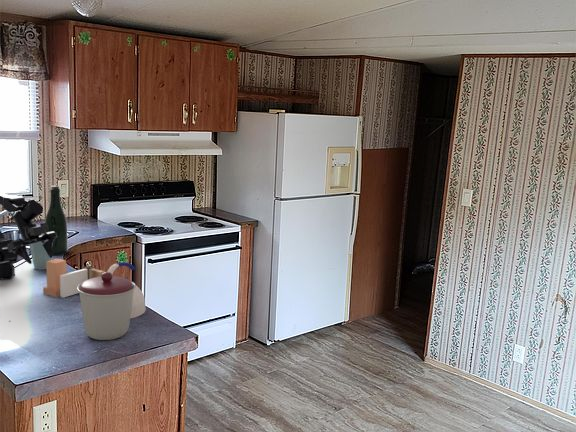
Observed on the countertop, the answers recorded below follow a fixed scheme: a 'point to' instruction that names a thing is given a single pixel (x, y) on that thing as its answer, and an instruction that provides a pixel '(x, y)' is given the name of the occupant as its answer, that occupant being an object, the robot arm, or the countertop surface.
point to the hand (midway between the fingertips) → (41, 260)
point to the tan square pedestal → (54, 276)
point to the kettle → (138, 297)
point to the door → (72, 282)
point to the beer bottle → (57, 222)
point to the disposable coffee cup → (39, 255)
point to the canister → (106, 306)
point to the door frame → (93, 272)
